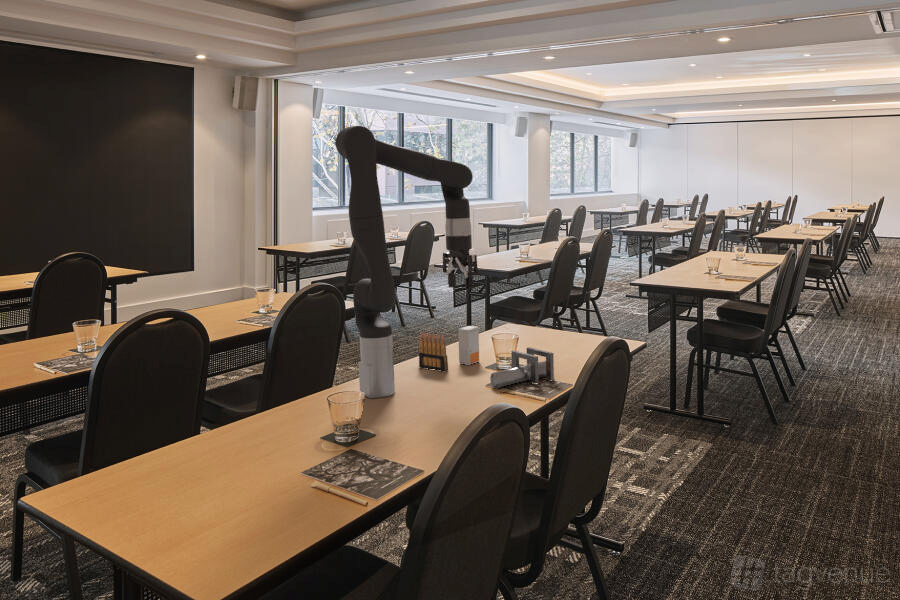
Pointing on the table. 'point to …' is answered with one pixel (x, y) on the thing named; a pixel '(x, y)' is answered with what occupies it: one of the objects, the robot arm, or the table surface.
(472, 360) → the skincare box
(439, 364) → the ammunition clip
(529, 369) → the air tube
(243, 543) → the table surface
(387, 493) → the table surface
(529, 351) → the dark grey rectangular frame
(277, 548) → the table surface
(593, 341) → the table surface
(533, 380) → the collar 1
